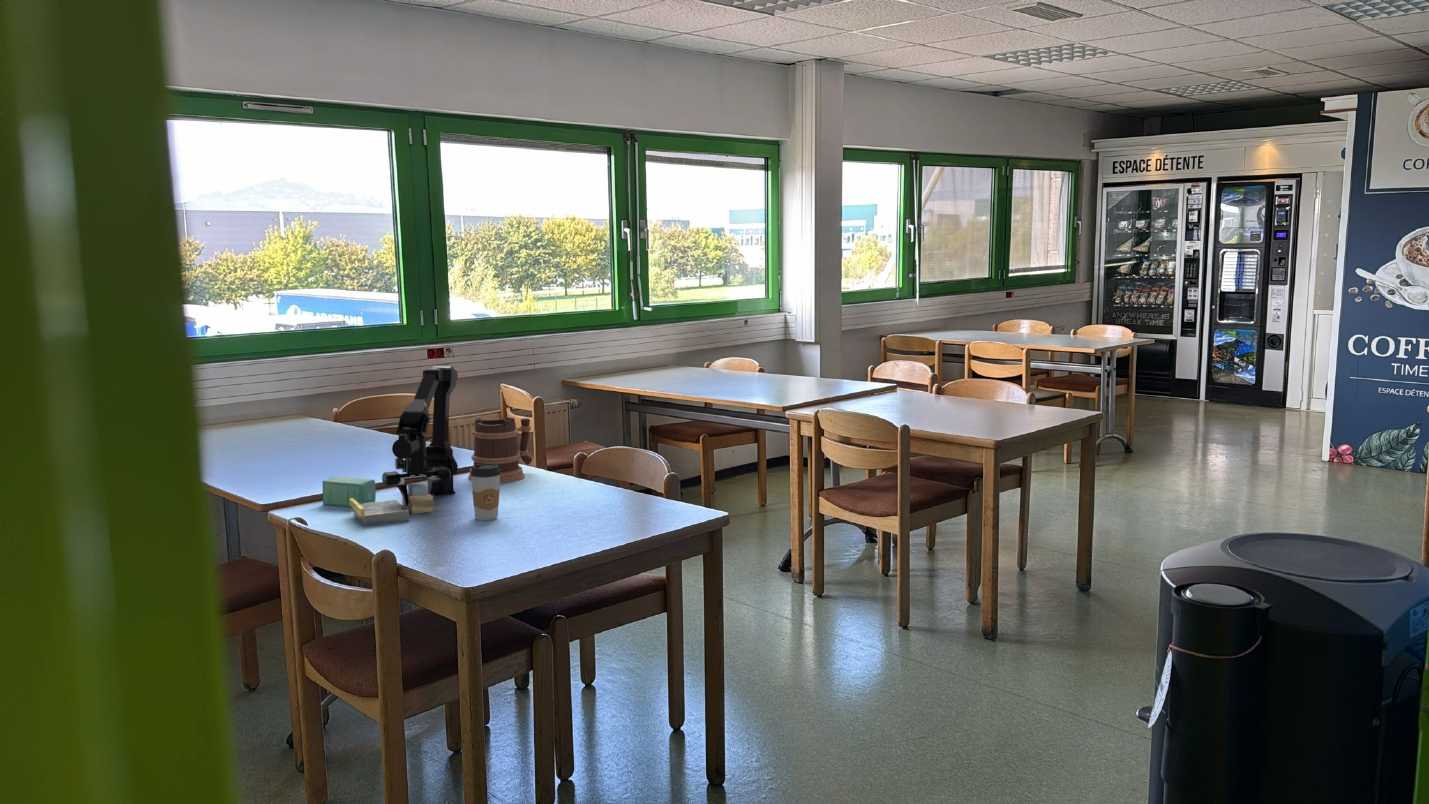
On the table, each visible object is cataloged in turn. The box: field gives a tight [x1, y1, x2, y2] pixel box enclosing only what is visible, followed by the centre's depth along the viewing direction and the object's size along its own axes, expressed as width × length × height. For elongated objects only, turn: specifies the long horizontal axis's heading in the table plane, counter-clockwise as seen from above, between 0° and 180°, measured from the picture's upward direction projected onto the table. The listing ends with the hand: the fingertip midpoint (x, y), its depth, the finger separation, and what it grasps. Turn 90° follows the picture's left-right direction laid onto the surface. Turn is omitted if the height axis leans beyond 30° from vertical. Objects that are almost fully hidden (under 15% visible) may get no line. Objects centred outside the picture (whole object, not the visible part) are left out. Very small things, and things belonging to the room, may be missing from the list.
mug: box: [467, 416, 533, 484], centre depth 348 cm, size 18×23×20 cm
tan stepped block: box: [401, 489, 434, 515], centre depth 307 cm, size 11×6×4 cm, turn 31°
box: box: [322, 475, 377, 508], centre depth 311 cm, size 7×14×8 cm, turn 76°
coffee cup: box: [469, 464, 501, 521], centre depth 296 cm, size 8×8×15 cm
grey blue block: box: [407, 482, 427, 496], centre depth 306 cm, size 5×4×2 cm
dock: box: [349, 498, 410, 527], centre depth 295 cm, size 13×14×5 cm
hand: (417, 504), depth 307 cm, fingers closed on tan stepped block, 6 cm apart
